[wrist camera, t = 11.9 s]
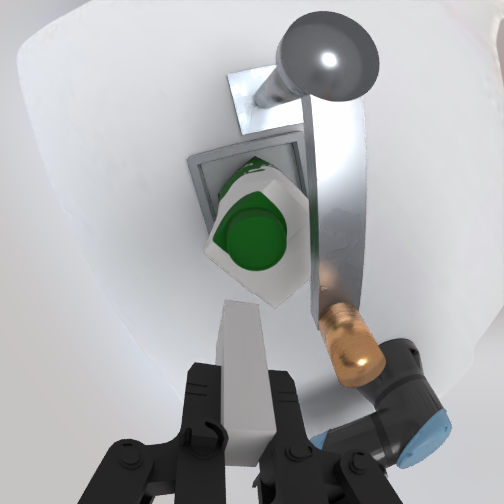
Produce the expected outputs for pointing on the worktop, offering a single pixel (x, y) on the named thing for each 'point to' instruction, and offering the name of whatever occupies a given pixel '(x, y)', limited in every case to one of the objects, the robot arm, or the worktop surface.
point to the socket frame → (256, 144)
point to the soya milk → (262, 232)
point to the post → (263, 100)
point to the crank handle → (335, 178)
